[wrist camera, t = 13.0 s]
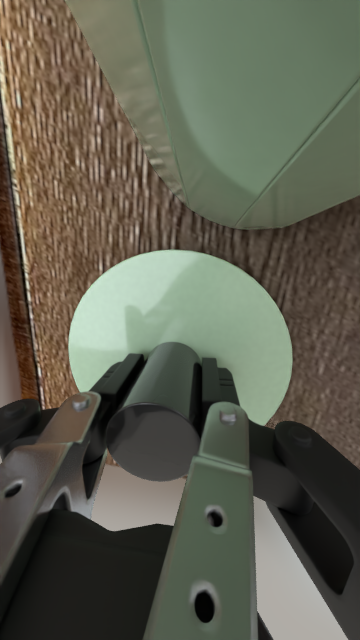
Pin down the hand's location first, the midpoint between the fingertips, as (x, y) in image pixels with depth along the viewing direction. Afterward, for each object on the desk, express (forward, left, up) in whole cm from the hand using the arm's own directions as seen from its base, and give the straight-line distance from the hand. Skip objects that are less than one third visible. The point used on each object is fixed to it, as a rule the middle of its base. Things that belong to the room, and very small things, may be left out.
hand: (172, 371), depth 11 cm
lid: (0, 0, -1) cm, 1 cm away
